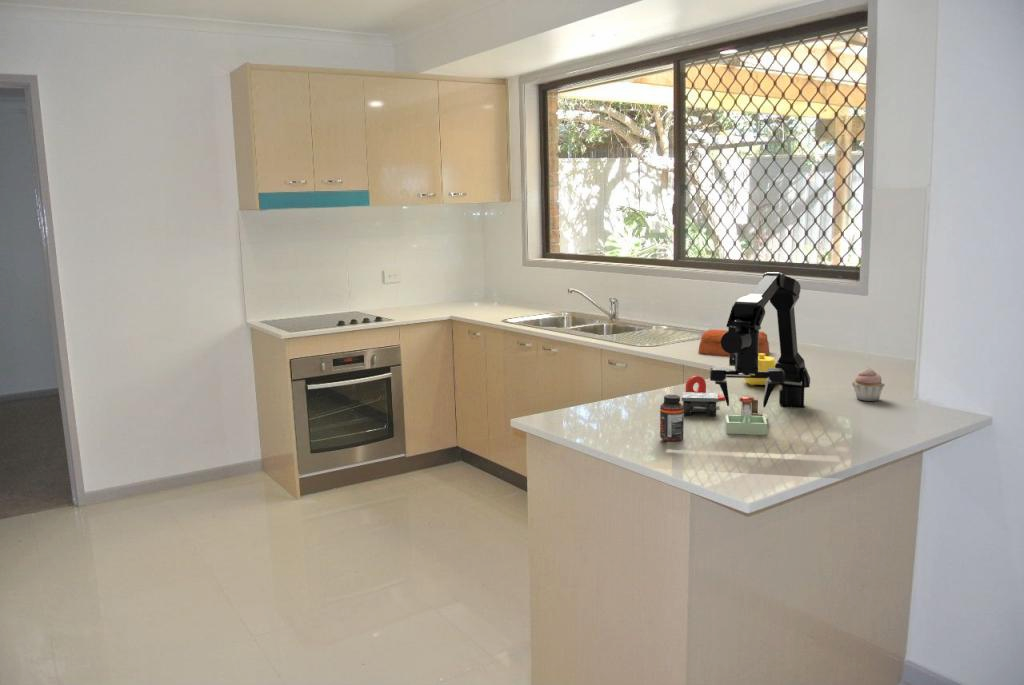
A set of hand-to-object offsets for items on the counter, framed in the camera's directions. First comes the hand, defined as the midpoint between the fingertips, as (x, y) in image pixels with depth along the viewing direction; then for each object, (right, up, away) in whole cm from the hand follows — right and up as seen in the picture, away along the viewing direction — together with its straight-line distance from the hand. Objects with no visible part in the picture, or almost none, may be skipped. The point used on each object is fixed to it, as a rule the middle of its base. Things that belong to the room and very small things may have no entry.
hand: (746, 406), depth 214 cm
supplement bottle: (-21, -8, -5) cm, 23 cm away
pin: (0, -6, +1) cm, 6 cm away
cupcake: (+47, -1, +33) cm, 57 cm away
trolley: (-8, -4, +20) cm, 22 cm away
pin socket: (+5, -5, +8) cm, 11 cm away
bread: (+27, +11, +110) cm, 114 cm away
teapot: (+21, +2, +55) cm, 59 cm away
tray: (0, -6, +1) cm, 7 cm away
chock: (+6, -4, +18) cm, 19 cm away
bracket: (-2, -1, +36) cm, 36 cm away
